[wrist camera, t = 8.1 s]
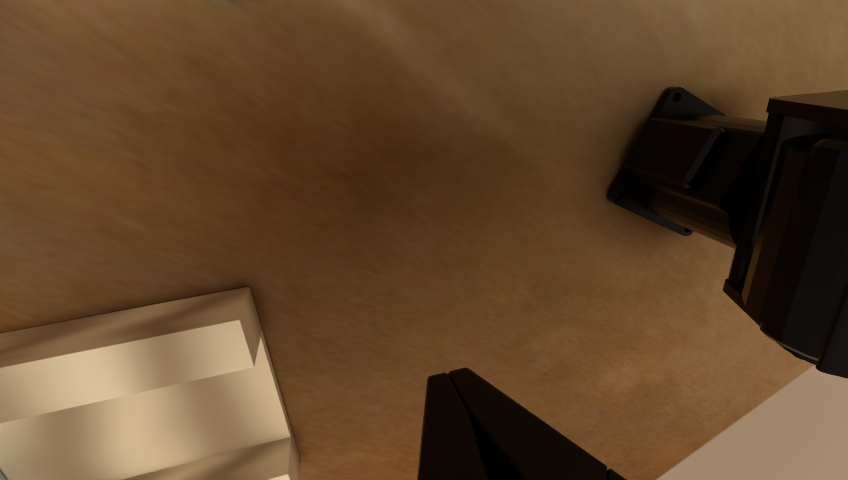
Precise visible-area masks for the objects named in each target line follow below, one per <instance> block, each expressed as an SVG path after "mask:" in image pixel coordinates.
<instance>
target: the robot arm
mask: <svg viewBox="0 0 848 480" xmlns="http://www.w3.org/2000/svg"><path fill="white" fill-rule="evenodd" d="M674 94H675V99H674V100H673V95H674ZM766 112H768V113H769V115H768V119H767V121H760V120H751V119H743V118H735V117H727V116H725V115H724V114H722V113H721V112H719V111H718V110H716V109H714V108H713V107H711V106H710V105H708V104H707V103H705V102H704V101H702V100H700V99H699V98H697V97H696V96H694V95H693V94H691V93H689V92H688V91H686V90H685V89H683V88H681V87H670V88H668V89H667V90H666V91H665V93H664V94H663V96H662V98H661V100H660V101H659V103H658V105H657V107H656V108H655V110H654V112H653V114H652V116H651V117H650V119H649V121H648V123H647V124H646V126H645V128H644V130H643V131H642V133H641V135H640V137H639V139H638V140H637V142H636V144H635V146H634V147H633V149H632V151H631V153H630V154H629V156H628V158H627V160H626V162H625V163H624V165H623V167H622V169H621V170H620V172H619V174H618V176H617V178H616V179H615V181H614V183H613V185H612V186H611V188H610V190H609V192H608V200H609V201H610V202H612V203H614V204H616V205H618V206H620V207H622V208H625V209H627V210H629V211H631V212H633V213H636V214H638V215H640V216H642V217H644V218H646V219H649V220H651V221H653V222H655V223H657V224H659V225H662V226H664V227H666V228H668V229H670V230H673V231H675V232H677V233H679V234H681V235H683V236H688V235H690V234H692V233H693V231H695V232H697V233H699V234H702V235H704V236H706V237H709V238H711V239H713V240H716V241H718V242H720V243H723V244H725V245H727V246H730V247H732V248H734V249H735V253H734V257H733V261H732V265H731V269H730V273H729V277H728V279H726V280H725V283H724V287H723V291H724V292H725V293H726V294H727V295H728V296H729V297H730V298H731V299H732V300H733V301H734V302H735V303H736V304H737V305H738V306H739V307H740V308H741V309H742V310H743V311H744V312H746V313H747V314H748V315H749V316H750V317H751V318H752V319H753V320H754V321H755V322H756V323H757V324H758V325H759V326H760V330H761V331H762V332H763V333H764V334H765V335H766V336H767V337H769V338H771V339H772V340H774V341H776V342H777V343H778V344H779V345H780V346H782V347H783V348H784V349H785V350H787V351H789V352H790V353H792V354H793V355H794V356H795V357H797V358H799V359H803V360H805V361H807V362H810V363H812V364H814V365H816V369H818V370H819V371H821V372H823V373H827V374H831V375H836V376H840V377H844V378H848V90H843V91H833V92H823V93H813V94H803V95H793V96H783V97H773V98H769V102H768V107H767V111H766ZM618 192H620V194H619V196H618V197H617V198H616V196H617V194H618ZM685 227H686V228H685ZM417 480H626V479H625V478H623V477H622V476H620V475H619V474H618V473H616V472H615V471H613V470H612V469H608V471H607V466H606V465H605V464H603V463H602V462H600V461H599V460H598V459H596V458H595V457H593V456H592V455H590V454H589V453H588V452H586V451H585V450H583V449H582V448H581V447H579V446H578V445H576V444H575V443H573V442H572V441H571V440H569V439H568V438H566V437H565V436H564V435H562V434H561V433H559V432H558V431H556V430H555V429H554V428H552V427H551V426H549V425H548V424H547V423H545V422H544V421H542V420H541V419H539V418H538V417H537V416H535V415H534V414H532V413H531V412H530V411H528V410H527V409H525V408H524V407H523V406H521V405H520V404H518V403H517V402H515V401H514V400H513V399H511V398H510V397H508V396H507V395H506V394H504V393H503V392H501V391H500V390H498V389H497V388H496V387H494V386H493V385H491V384H490V383H489V382H487V381H486V380H484V379H483V378H481V377H480V376H479V375H477V374H476V373H474V372H473V371H472V370H470V369H469V368H461V369H457V370H453V371H450V372H449V373H448V374H447V373H440V374H436V375H432V376H429V377H428V380H427V389H426V398H425V408H424V417H423V427H422V436H421V446H420V455H419V465H418V474H417Z"/></svg>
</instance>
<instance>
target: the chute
mask: <svg viewBox="0 0 848 480" xmlns="http://www.w3.org/2000/svg"><path fill="white" fill-rule="evenodd" d="M0 472H1V473H2V475H3V476H4V477H5V479H6V480H300V457H299V454H298V450H297V447H296V444H295V440H294V437H293V433H292V430H291V427H290V423H289V420H288V416H287V413H286V410H285V406H284V403H283V400H282V396H281V393H280V389H279V386H278V383H277V379H276V376H275V372H274V369H273V366H272V362H271V359H270V355H269V352H268V349H267V345H266V342H265V338H264V335H263V332H262V328H261V325H260V321H259V318H258V315H257V311H256V308H255V304H254V301H253V298H252V294H251V291H250V287H245V288H239V289H234V290H229V291H223V292H218V293H213V294H207V295H202V296H197V297H192V298H186V299H181V300H176V301H170V302H165V303H160V304H154V305H149V306H144V307H138V308H133V309H128V310H122V311H117V312H112V313H106V314H101V315H96V316H91V317H85V318H80V319H75V320H69V321H64V322H59V323H53V324H48V325H43V326H37V327H32V328H27V329H21V330H16V331H11V332H5V333H0Z"/></svg>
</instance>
